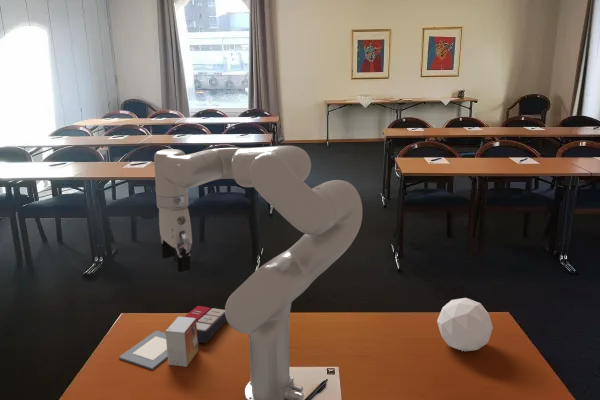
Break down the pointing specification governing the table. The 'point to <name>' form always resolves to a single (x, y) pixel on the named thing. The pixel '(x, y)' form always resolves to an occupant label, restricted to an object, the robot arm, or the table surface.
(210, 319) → the calculator
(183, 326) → the small box
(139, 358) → the board
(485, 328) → the geometric sphere
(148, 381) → the table surface
